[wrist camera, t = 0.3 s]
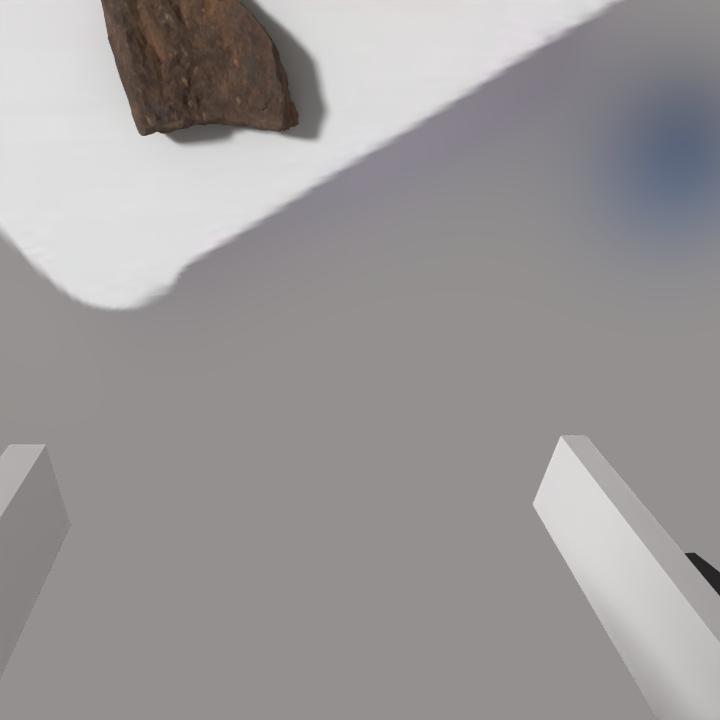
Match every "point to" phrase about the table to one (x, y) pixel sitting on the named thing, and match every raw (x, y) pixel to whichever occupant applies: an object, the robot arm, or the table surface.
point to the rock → (197, 65)
